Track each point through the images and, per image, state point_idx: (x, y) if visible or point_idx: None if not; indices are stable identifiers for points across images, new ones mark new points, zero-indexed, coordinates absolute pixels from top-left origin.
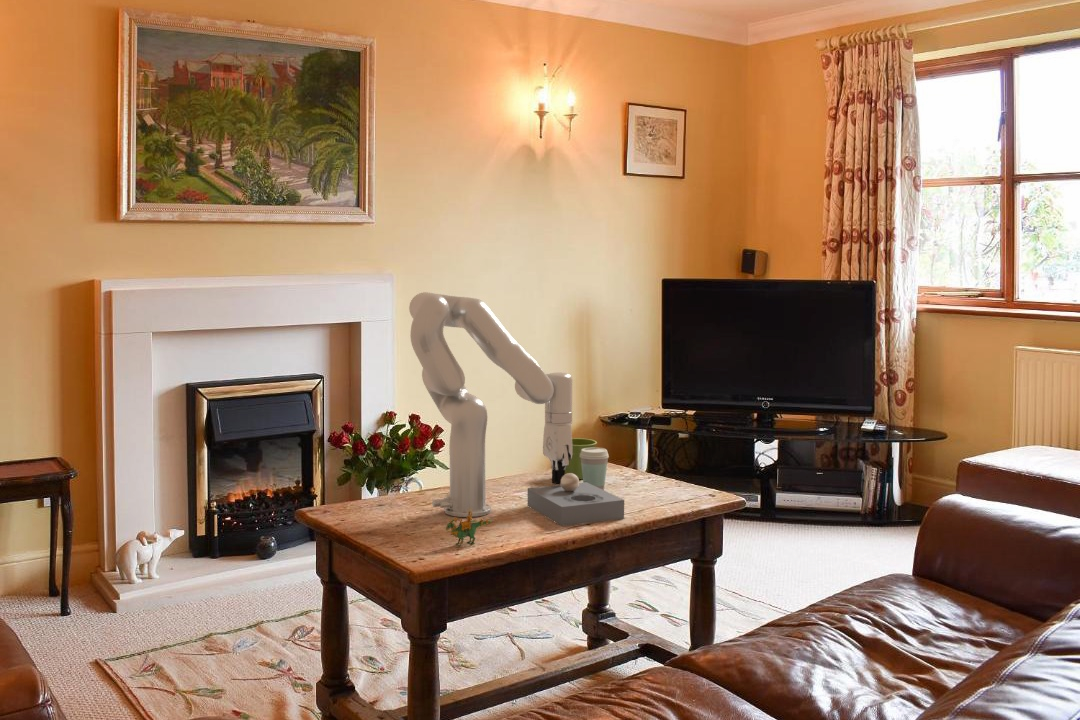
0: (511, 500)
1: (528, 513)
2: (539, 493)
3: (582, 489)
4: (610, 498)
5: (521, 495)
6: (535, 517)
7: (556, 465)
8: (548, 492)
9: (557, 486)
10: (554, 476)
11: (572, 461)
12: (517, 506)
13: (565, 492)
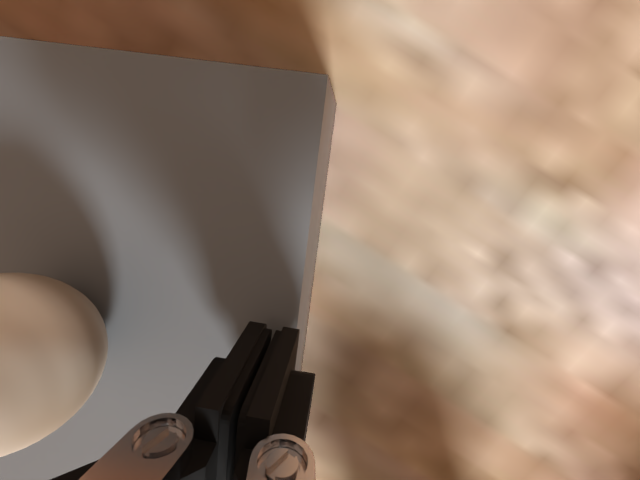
0: (531, 85)
1: (178, 13)
2: (100, 69)
3: (96, 417)
4: None
5: (600, 217)
6: (79, 4)
7: (103, 477)
8: (104, 161)
9: None
10: (225, 359)
11: None
12: (367, 38)
13: (57, 275)
